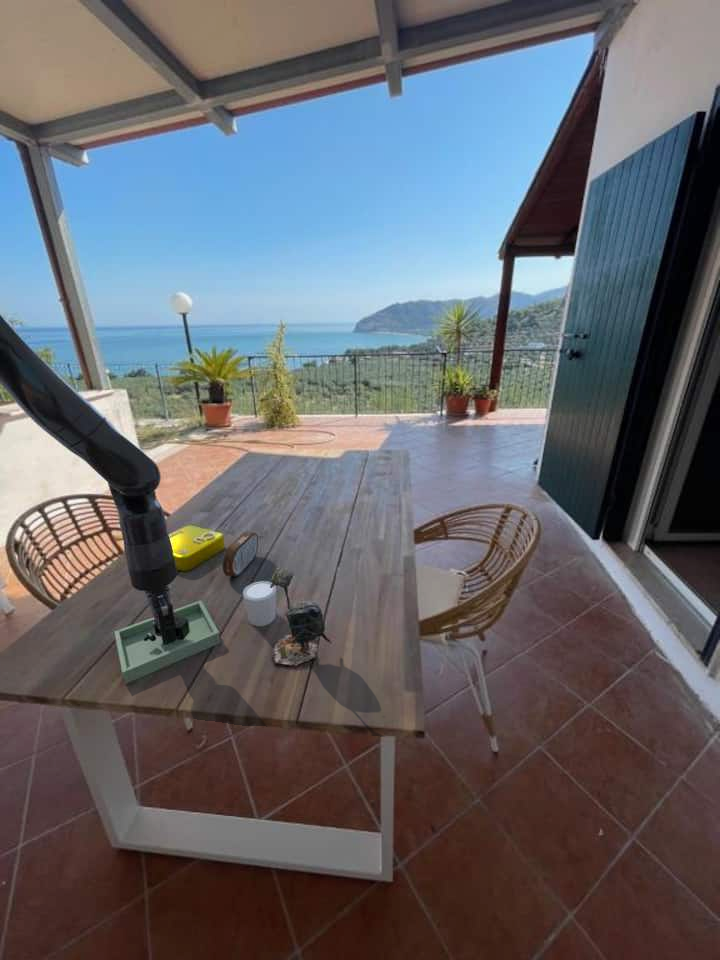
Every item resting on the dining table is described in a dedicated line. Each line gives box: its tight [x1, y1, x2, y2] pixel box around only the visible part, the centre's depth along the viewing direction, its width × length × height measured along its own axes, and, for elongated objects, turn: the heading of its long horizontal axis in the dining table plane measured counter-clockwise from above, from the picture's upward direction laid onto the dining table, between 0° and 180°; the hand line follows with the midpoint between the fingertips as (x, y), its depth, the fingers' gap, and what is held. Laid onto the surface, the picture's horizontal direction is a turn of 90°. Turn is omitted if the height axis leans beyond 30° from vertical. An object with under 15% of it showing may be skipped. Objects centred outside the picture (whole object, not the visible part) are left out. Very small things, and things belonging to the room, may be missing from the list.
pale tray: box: [114, 600, 221, 685], centre depth 77 cm, size 17×13×3 cm
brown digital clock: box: [222, 530, 259, 577], centre depth 102 cm, size 15×3×8 cm, turn 168°
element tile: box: [168, 524, 226, 572], centre depth 109 cm, size 15×15×5 cm
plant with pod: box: [270, 566, 332, 667], centre depth 71 cm, size 8×11×20 cm
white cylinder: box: [242, 580, 277, 627], centre depth 83 cm, size 7×7×7 cm
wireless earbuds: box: [144, 616, 190, 641], centre depth 76 cm, size 5×7×3 cm, turn 77°
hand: (166, 632), depth 76 cm, fingers closed on wireless earbuds, 5 cm apart
